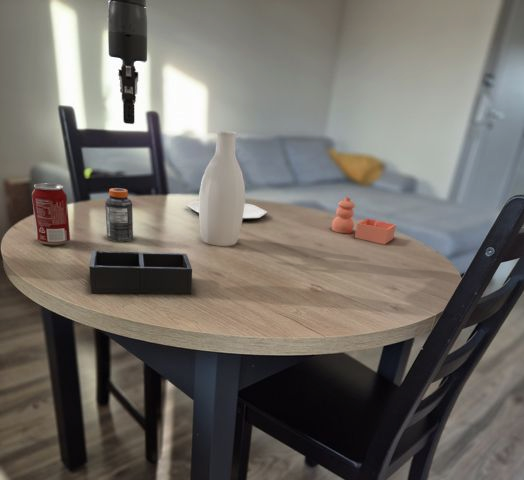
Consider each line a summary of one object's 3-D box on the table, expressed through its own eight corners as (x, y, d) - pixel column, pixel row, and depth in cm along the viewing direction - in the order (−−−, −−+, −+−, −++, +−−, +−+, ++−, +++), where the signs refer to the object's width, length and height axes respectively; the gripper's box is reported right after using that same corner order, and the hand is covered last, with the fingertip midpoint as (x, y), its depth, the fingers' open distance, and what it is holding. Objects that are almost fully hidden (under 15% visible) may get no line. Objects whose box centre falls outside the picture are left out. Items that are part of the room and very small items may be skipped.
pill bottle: (118, 233, 117) (117, 185, 112) (138, 238, 115) (137, 190, 110) (101, 238, 113) (99, 188, 107) (121, 243, 110) (120, 193, 105)
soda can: (70, 247, 104) (66, 190, 99) (36, 246, 102) (29, 188, 96) (70, 238, 110) (65, 183, 104) (37, 237, 108) (31, 182, 102)
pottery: (392, 238, 145) (400, 205, 140) (384, 244, 137) (392, 209, 133) (337, 226, 151) (342, 193, 147) (326, 231, 144) (332, 197, 139)
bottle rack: (90, 293, 84) (89, 266, 81) (93, 275, 91) (92, 250, 89) (191, 294, 88) (192, 269, 86) (185, 276, 96) (186, 253, 94)
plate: (272, 212, 158) (273, 208, 158) (251, 227, 138) (252, 221, 137) (206, 201, 163) (206, 196, 162) (176, 213, 142) (176, 208, 142)
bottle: (195, 245, 116) (201, 130, 104) (198, 233, 125) (203, 127, 114) (241, 249, 117) (252, 136, 105) (240, 237, 127) (250, 132, 115)
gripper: (108, 32, 101) (111, 117, 108) (106, 25, 88) (109, 122, 96) (145, 38, 103) (145, 121, 110) (148, 32, 90) (148, 126, 98)
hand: (128, 122), depth 103 cm, fingers open, 8 cm apart
